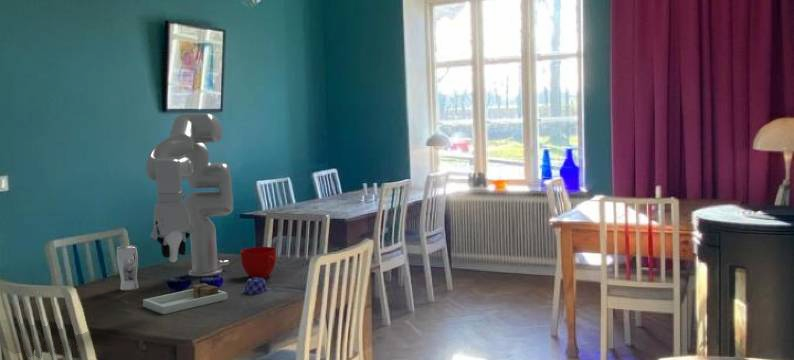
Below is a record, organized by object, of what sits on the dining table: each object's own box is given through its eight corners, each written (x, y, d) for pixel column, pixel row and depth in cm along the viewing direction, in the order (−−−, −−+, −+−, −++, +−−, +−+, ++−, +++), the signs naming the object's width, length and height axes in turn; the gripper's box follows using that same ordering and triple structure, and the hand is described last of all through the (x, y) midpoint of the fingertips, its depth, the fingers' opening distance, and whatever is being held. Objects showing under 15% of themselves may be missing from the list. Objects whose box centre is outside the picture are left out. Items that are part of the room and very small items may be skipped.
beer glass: (132, 291, 250) (129, 249, 248) (115, 290, 251) (111, 248, 250) (143, 286, 257) (140, 245, 255) (126, 286, 258) (123, 245, 257)
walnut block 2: (210, 297, 234) (209, 285, 233) (218, 298, 231) (217, 286, 231) (200, 300, 231) (200, 288, 230) (208, 301, 228) (208, 289, 228)
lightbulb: (187, 260, 226) (185, 226, 225) (175, 264, 220) (173, 229, 220) (171, 260, 228) (169, 226, 227) (159, 263, 222) (157, 228, 222)
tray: (206, 294, 241) (205, 286, 240) (227, 301, 231) (227, 292, 230) (143, 308, 225) (142, 299, 225) (163, 316, 215) (163, 307, 215)
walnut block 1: (205, 294, 237) (204, 283, 237) (209, 297, 234) (209, 285, 234) (193, 297, 235) (192, 285, 235) (198, 299, 232) (197, 287, 232)
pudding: (238, 291, 245) (237, 276, 245) (274, 288, 247) (273, 273, 247) (237, 300, 233) (236, 284, 233) (274, 297, 236) (274, 281, 235)
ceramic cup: (258, 284, 254) (257, 256, 253) (235, 277, 266) (233, 250, 266) (289, 277, 262) (288, 250, 261) (265, 271, 275) (264, 245, 274)
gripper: (189, 194, 231) (192, 250, 233) (138, 200, 220) (143, 258, 221) (200, 196, 226) (204, 252, 228) (149, 202, 214) (153, 261, 216)
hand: (174, 255), depth 224 cm, fingers closed on lightbulb, 4 cm apart
